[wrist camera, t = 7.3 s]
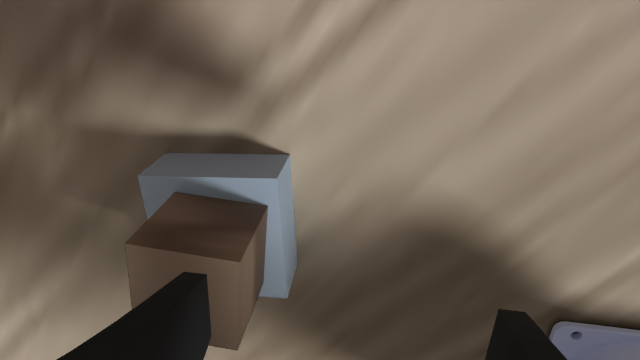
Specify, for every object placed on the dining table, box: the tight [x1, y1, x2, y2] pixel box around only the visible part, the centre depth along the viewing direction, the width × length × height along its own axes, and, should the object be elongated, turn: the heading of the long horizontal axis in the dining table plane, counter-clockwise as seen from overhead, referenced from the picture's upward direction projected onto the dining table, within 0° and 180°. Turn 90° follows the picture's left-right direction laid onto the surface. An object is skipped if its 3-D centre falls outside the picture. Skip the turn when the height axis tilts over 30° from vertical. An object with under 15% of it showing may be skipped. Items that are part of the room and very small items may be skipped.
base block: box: [137, 153, 298, 298], centre depth 21 cm, size 6×6×3 cm
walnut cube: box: [125, 192, 268, 350], centre depth 18 cm, size 4×4×4 cm
